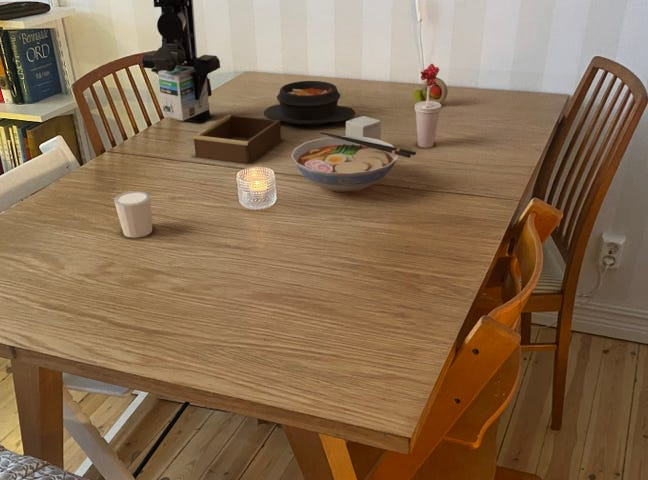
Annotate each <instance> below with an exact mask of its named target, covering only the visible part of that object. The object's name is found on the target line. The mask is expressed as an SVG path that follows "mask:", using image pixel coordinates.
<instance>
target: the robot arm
mask: <svg viewBox="0 0 648 480" xmlns="http://www.w3.org/2000/svg"><path fill="white" fill-rule="evenodd" d="M153 7H154V8H160V10H161V12H160V15H159V17H158V19H157V23H156V28H157V31H158V34H159V35H160V36H161V46H160V47H159V48H157V50H152V51H149V52H148V53H144V54H143V55H142V57H141V66H142V68H143V69H150V71H151V72H152V73H155V74H156V75H158V72H159V71H162V70H164V71H168V72H171V71H173V70H174V69H175V67H176V66H188V67H194V70H195V71H194V72H192V73H190V75H191V76H192V78H193V80H194V91H195V97H196V100H199V99H200V96H201V93H202V89H203V86H204V83H205V80H206V78H207V91H208V98H209V97H211V96H212V95H213V94H212V86H211V81H210V78H208V75H209V74H211V73H213V72H215V71H217V70H218V69H220V68H221V60H220V59H219V57H218V56H217V55H213V54H212V55H211V54H203V55H201V56H198V47H197V36H196V35H197V34H196V23H195V10H194V0H153ZM208 104H209V105H210V103H209V101H208ZM212 116H213V114H211V112H210V109H209V110H207V111H204V112H202V113H200V114H197V115H195V116H193V117H190V118H188V119H186V120H184V121H182V120H180V121H182V122H187V123H188V122H190V123H198V124H201V123H203V122H205V121H206V120H209V118H212Z"/></svg>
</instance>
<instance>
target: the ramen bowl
mask: <svg viewBox="0 0 648 480" xmlns="http://www.w3.org/2000/svg"><path fill="white" fill-rule="evenodd" d="M319 134H320V135H323V136H324V135H325V137H320V138H317V139H313V140H310V141H309V140H308V141H305V142H303V143H302V144H300V145H298V146H296V147H294V149H293V151H292V153H291V155H290V156H291V158H292V160H293V163H294V164H295V166H296V167H297V169H298V170H299V171H300V173H301V174H302V176H303V177H304V178H305V179H306V180H307V181H309V182H310V183H312V184H314V185H316V186H318V187H320V188H322V189H326V190H330V191H333V192H336V193H354V192H356V191H359V190H363V189H366V188H368V187H373V186H374V185H376V184H378V183H379V182H380V181H381V180H383V179H384V178H385V177H386V176H387V175H388V174H389V173H390V171H392V169H393V168H394V166H395V164H396V162H397V160H398V157H399V156H400V157H404V158H408V159H410V158H411V157H412V156H416V154H417V153H416V152H417V151H414V150H410V149H405V148H399V147H395V146H394V144H391V143H389V142H386V141H384V140H381V139H380V140H379V139H373V138H367V137H361V136H346V135H337V134H334V133H333V134H332V133H329V132H323V131H322V132H319Z"/></svg>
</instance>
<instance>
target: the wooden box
mask: <svg viewBox="0 0 648 480" xmlns="http://www.w3.org/2000/svg"><path fill="white" fill-rule="evenodd" d="M232 136H235V137H241V138H242V137H243V138H249V139H248V140H238V139H230V137H232ZM192 137H193V144H194V152H195V157H197V158H203V159H211V160H212V159H213V160H219V161H226V162H234V163H240V164H248V165H249V164H251V163H253V162H254V161H255V160H256V159H258V158H259V157H261V155H263V154H264V153H266V152H267V151H269V150H270V149H271V148H273V147H274V146H275V145H277V144H278V143H279V142H281V141H282V128H281V121H280V120H274V119H269V118H263V117H253V116H246V115H245V116H243V115H236V114H235V115H234V114H226V116H223V118H220V119H219V120H217V121H216V122H214V123H212V124H211V125H210V126H208V127H206V128H204V129H202V130H201V131H199V132H198V133H195V134H194V135H193V136H192Z"/></svg>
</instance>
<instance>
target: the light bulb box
mask: <svg viewBox="0 0 648 480" xmlns="http://www.w3.org/2000/svg"><path fill="white" fill-rule="evenodd" d="M194 71H195V70H194V67H188V66H176V67H175V69H174V70H173V71H171V72H168V71H164V70H162V71H159V72H158V74H157V76H158V83H159V93H160V100H161V108H162V116H163V117H166V118H170V119H174V120H178V121H181V120H182V122H185V121H184V120H186V119H188V118H190V117H193V116H195V115H197V114H200V113H202V112H204V111H207V110H209V111H210V103H209V104H208V102H209V97H208V91H207V78H206V80H205V83H204V86H203V89H202V93H201V96H200V99H199V100H196V97H195V91H194V80H193V78H192V76H191V75H190V73H192V72H194Z"/></svg>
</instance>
